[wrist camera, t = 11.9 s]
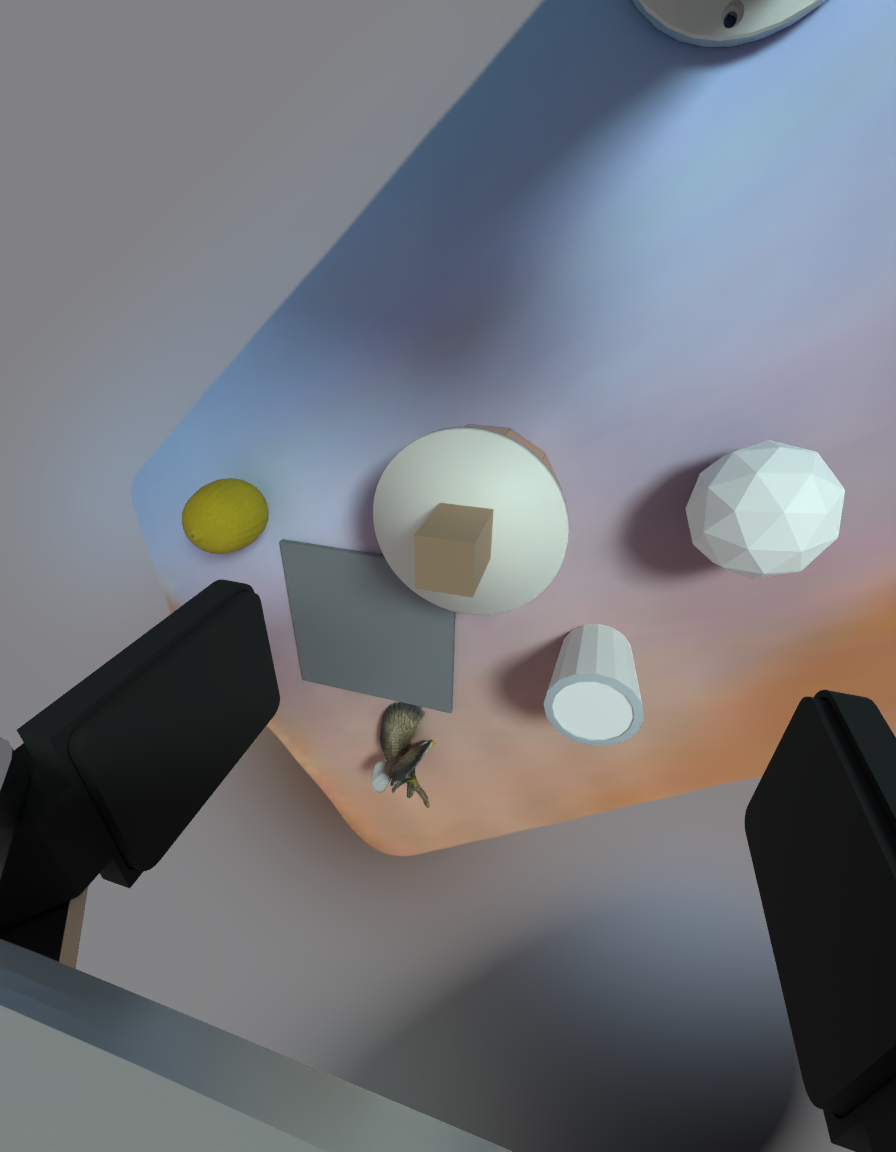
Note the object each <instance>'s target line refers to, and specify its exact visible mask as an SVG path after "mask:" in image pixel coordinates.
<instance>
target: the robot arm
mask: <svg viewBox="0 0 896 1152" xmlns="http://www.w3.org/2000/svg"><path fill="white" fill-rule="evenodd" d="M632 1H633V3H634V4H635V6H636V8H637V9H638V10H639V11H640V12H641V13H642V14H643V15H644V16H645V17H646V18H647V19H648V20H649V21H650V22H651V23H652V24H653V25H654V26H655V27H656V28H657V29H659V30H660V31H662V32H664V33H666V34H667V35H669V36H671V37H673V38H674V39H676V40H678V41H681V42H685V43H689V44H693V45H697V46H701V47H732V46H736V45H740V44H744V43H748V42H752V41H756V40H760V39H762V38H765V37H767V36H769V35H771V34H773V33H775V32H777V31H779V30H782V29H784V28H786V27H788V26H790V25H792V24H794V23H795V22H797V21H798V20H799V19H801V18H802V17H804V16H805V15H807V14H808V13H810V12H811V11H813V10H814V9H816V8H817V7H818V6H820V5H821V4H823V3H824V2H825V1H826V0H632ZM730 15H732V16H734V18H735V24H734V26H733V27H731V28H726V27H725V25H724V19H725V18H726V17H727V16H730ZM279 702H280V695H279V690H278V685H277V680H276V675H275V670H274V665H273V660H272V655H271V650H270V645H269V640H268V635H267V630H266V625H265V620H264V615H263V610H262V605H261V600H260V597H259V596H258V595H257V594H255V593H254V590H253V588H252V587H251V586H250V585H248V584H244V583H238V582H233V581H227V580H217V581H215V582H213V583H212V584H211V585H209V586H208V587H207V588H205V589H204V590H203V591H201V592H200V593H199V594H197V595H196V596H195V597H193V598H192V599H191V600H189V601H188V602H187V603H185V604H184V605H183V606H181V607H180V608H179V609H177V610H176V611H175V612H173V613H172V614H171V615H169V616H168V617H167V618H165V619H164V620H163V621H161V622H160V623H159V624H157V625H156V626H155V627H153V628H152V629H151V630H149V631H148V632H147V633H145V634H144V635H143V636H141V637H140V638H139V639H137V640H136V641H135V642H133V643H132V644H131V645H129V646H128V647H127V648H125V649H124V650H123V651H121V652H120V653H119V654H117V655H116V656H115V657H113V658H112V659H111V660H109V661H108V662H107V663H105V664H104V665H103V666H101V667H100V668H99V669H97V670H96V671H95V672H93V673H92V674H91V675H89V676H88V677H87V678H85V679H84V680H83V681H81V682H80V683H79V684H77V685H76V686H75V687H73V688H72V689H71V690H69V691H68V692H67V693H65V694H64V695H63V696H61V697H60V698H59V699H57V700H56V701H55V702H53V703H52V704H51V705H49V706H48V707H47V708H45V709H44V710H43V711H41V712H40V713H39V714H37V715H36V716H35V717H33V718H32V719H31V720H29V721H28V722H27V723H25V724H24V725H23V726H22V727H20V728H19V729H17V731H18V733H19V735H20V737H21V738H22V740H23V742H24V743H23V744H22V745H21V746H19V747H18V748H17V749H16V750H13V748H12V747H11V745H10V744H9V742H8V741H7V740H5V739H3V738H0V1152H512V1151H509V1150H507V1149H505V1148H503V1147H500V1146H498V1145H496V1144H493V1143H491V1142H489V1141H486V1140H484V1139H481V1138H479V1137H477V1136H474V1135H472V1134H470V1133H467V1132H465V1131H463V1130H460V1129H458V1128H455V1127H453V1126H451V1125H448V1124H446V1123H444V1122H441V1121H439V1120H437V1119H434V1118H432V1117H429V1116H427V1115H425V1114H422V1113H420V1112H418V1111H415V1110H413V1109H410V1108H408V1107H406V1106H403V1105H401V1104H398V1103H396V1102H394V1101H391V1100H389V1099H387V1098H384V1097H382V1096H379V1095H377V1094H375V1093H372V1092H370V1091H367V1090H365V1089H363V1088H360V1087H358V1086H356V1085H353V1084H351V1083H348V1082H346V1081H344V1080H341V1079H339V1078H336V1077H334V1076H332V1075H329V1074H327V1073H325V1072H322V1071H320V1070H318V1069H315V1068H313V1067H310V1066H308V1065H305V1064H303V1063H301V1062H298V1061H296V1060H294V1059H291V1058H289V1057H286V1056H284V1055H282V1054H279V1053H277V1052H274V1051H272V1050H270V1049H267V1048H265V1047H263V1046H260V1045H258V1044H255V1043H253V1042H251V1041H248V1040H246V1039H243V1038H241V1037H239V1036H236V1035H234V1034H232V1033H229V1032H227V1031H224V1030H222V1029H220V1028H217V1027H215V1026H212V1025H210V1024H208V1023H205V1022H203V1021H200V1020H198V1019H195V1018H193V1017H191V1016H188V1015H185V1014H183V1013H181V1012H178V1011H176V1010H174V1009H171V1008H169V1007H167V1006H164V1005H161V1004H159V1003H157V1002H154V1001H152V1000H150V999H147V998H145V997H142V996H140V995H137V994H135V993H133V992H130V991H128V990H125V989H123V988H121V987H118V986H116V985H113V984H111V983H108V982H106V981H103V980H101V979H99V978H96V977H94V976H91V975H89V974H87V973H84V972H82V971H79V970H77V969H76V962H77V955H78V949H79V942H80V936H81V929H82V922H83V916H84V910H85V903H86V897H87V890H88V885H89V884H90V883H91V882H92V881H93V880H94V879H95V877H96V876H97V875H98V874H99V873H100V874H101V875H102V878H103V879H105V880H108V881H111V882H114V883H116V884H119V885H122V886H125V887H128V888H130V887H131V886H132V885H133V884H134V882H135V881H136V880H137V879H138V877H139V876H140V875H141V873H142V872H143V871H147V870H150V869H151V868H153V867H154V866H155V865H156V864H157V863H158V862H159V861H160V860H161V858H162V857H163V856H164V854H165V853H166V852H167V851H168V849H169V848H170V847H171V845H172V844H173V843H174V841H176V839H177V837H179V835H180V834H181V833H182V831H183V830H184V829H185V828H186V827H187V825H188V824H189V823H190V822H191V820H192V819H193V818H194V816H195V815H196V814H197V813H198V811H199V810H200V809H201V807H202V806H203V805H204V804H205V802H206V801H207V800H208V798H209V797H210V796H211V795H212V794H213V792H214V791H215V790H216V788H217V787H218V786H219V785H220V783H221V782H222V781H223V780H224V778H225V777H226V776H227V775H228V773H229V772H230V771H231V770H232V768H233V767H234V766H235V764H236V763H237V762H238V761H239V759H240V758H241V757H242V755H243V754H244V753H245V752H246V750H247V749H248V748H249V747H250V745H251V744H252V743H253V742H254V740H255V739H256V738H257V736H258V735H259V734H260V733H261V731H262V730H263V729H264V727H265V726H266V725H267V724H268V723H269V721H270V720H271V719H272V718H273V716H274V715H275V713H276V711H277V709H278V706H279ZM745 831H746V836H747V840H748V845H749V849H750V853H751V857H752V862H753V866H754V870H755V875H756V879H757V883H758V888H759V892H760V896H761V900H762V905H763V909H764V914H765V918H766V922H767V927H768V931H769V935H770V940H771V944H772V948H773V953H774V957H775V961H776V966H777V970H778V974H779V979H780V982H781V987H782V992H783V996H784V1000H785V1004H786V1008H787V1013H788V1017H789V1021H790V1026H791V1030H792V1035H793V1039H794V1043H795V1048H796V1052H797V1056H798V1061H799V1065H800V1069H801V1074H802V1078H803V1082H804V1085H805V1089H806V1092H807V1094H808V1096H809V1098H810V1100H811V1102H812V1103H813V1104H814V1105H815V1106H816V1107H818V1108H820V1109H823V1111H824V1115H825V1119H826V1123H827V1127H828V1131H829V1135H830V1140H831V1143H833V1144H836V1145H839V1146H842V1147H844V1148H847V1149H850V1150H853V1151H855V1152H896V737H895V736H894V734H893V732H892V731H891V729H890V728H889V726H888V724H887V723H886V721H885V719H884V718H883V716H882V714H881V713H880V711H879V709H878V708H877V706H876V705H875V704H874V702H873V701H872V700H870V699H868V698H866V697H861V696H855V695H850V694H844V693H839V692H833V691H828V690H821V691H819V692H818V693H817V694H816V695H815V696H814V698H813V697H804V698H803V699H802V700H801V701H800V703H799V705H798V707H797V709H796V711H795V713H794V715H793V717H792V719H791V721H790V723H789V725H788V727H787V729H786V731H785V733H784V735H783V737H782V739H781V741H780V743H779V745H778V747H777V749H776V751H775V753H774V755H773V757H772V759H771V761H770V763H769V765H768V767H767V769H766V771H765V773H764V775H763V776H762V778H761V781H760V783H759V785H758V787H757V788H756V790H755V792H754V795H753V796H752V799H751V800H750V803H749V804H748V807H747V809H746V814H745Z"/></svg>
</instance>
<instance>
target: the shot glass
mask: <svg viewBox="0 0 896 1152" xmlns="http://www.w3.org/2000/svg"><path fill="white" fill-rule="evenodd" d="M544 708H545V713H546V717H547V719H548V720H549V722H550V723H551V724H552V725H553V727H554V728H555V729H556V731H558V732H560V733H561V734H563V735H564V736H566V737H567V738H569V739H570V740H573V741H576V742H579V743H583V744H586V745H589V746H610V745H613V744H617V743H621V742H624V741H626V740H627V739H629V738H630V737H631V736H633V735H634V734H635V733H637V732H638V730H639V728H640V726H641V724H642V722H643V719H644V715H643V707H642V701H641V696H640V691H639V685H638V680H637V675H636V670H635V665H634V660H633V655H632V650H631V645H630V644H629V642H628V641H627V639H626V638H625V636H624V635H623V634H621V633H620V632H618V631H617V630H615V629H614V628H612V627H608V626H604V625H601V624H589V625H582V626H580V627H578V628H575V629H573V630H571V631H570V632H569V634H568V635H567V636H566V637H565V638H564V640H563V643H562V646H561V649H560V653H559V656H558V659H557V662H556V665H555V669H554V672H553V675H552V678H551V682H550V685H549V688H548V691H547V694H546V698H545V701H544Z"/></svg>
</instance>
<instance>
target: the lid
mask: <svg viewBox="0 0 896 1152" xmlns="http://www.w3.org/2000/svg"><path fill="white" fill-rule="evenodd" d="M373 522H374V529H375V534H376V537H377V541H378V544H379V546H380V549H381V551H382V553H383V555H384V557H385V559H386V561H387V563H388V564H389V565H390V567H391V568H392V570H393V571H394V573H395V574H396V575H397V576H398V577H399V578H400V579H401V581H402V582H403V583H405V584H406V585H407V586H408V587H409V588H410V589H411V590H412V591H414V592H415V593H416V594H418V595H419V596H421V597H422V598H424V599H426V600H427V601H429V602H431V603H433V604H435V605H437V606H439V607H442V608H445V609H448V610H451V611H455V612H459V613H463V614H472V615H489V614H498V613H502V612H506V611H510V610H513V609H515V608H518V607H520V606H522V605H524V604H526V603H528V602H530V601H531V600H532V599H534V598H535V597H537V596H538V595H539V594H540V593H541V592H542V591H543V590H545V589H546V588H547V587H548V585H549V584H550V583H551V581H552V580H553V579H554V578H555V576H556V574H557V572H558V571H559V569H560V567H561V564H562V562H563V559H564V556H565V552H566V547H567V543H568V535H569V519H568V511H567V507H566V502H565V499H564V497H563V494H562V491H561V489H560V487H559V485H558V483H557V481H556V479H555V478H554V476H553V475H552V473H551V472H550V470H549V469H548V468H547V466H546V465H545V464H544V463H543V462H542V461H541V460H540V459H539V458H538V457H537V456H536V455H535V454H534V453H533V452H531V451H530V450H529V449H528V448H526V447H525V446H524V445H522V444H520V443H519V442H517V441H515V440H514V439H512V438H510V437H507V436H505V435H503V434H501V433H498V432H494V431H491V430H487V429H482V428H476V427H452V428H445V429H441V430H437V431H434V432H431V433H429V434H426V435H424V436H422V437H420V438H418V439H417V440H415V441H413V442H412V443H410V444H409V445H408V446H406V447H405V448H404V449H403V450H402V451H401V452H399V453H398V454H397V455H396V456H395V457H394V458H393V460H392V461H391V462H390V463H389V464H388V466H387V467H386V469H385V471H384V472H383V474H382V476H381V478H380V480H379V483H378V485H377V489H376V492H375V496H374V504H373Z"/></svg>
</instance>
